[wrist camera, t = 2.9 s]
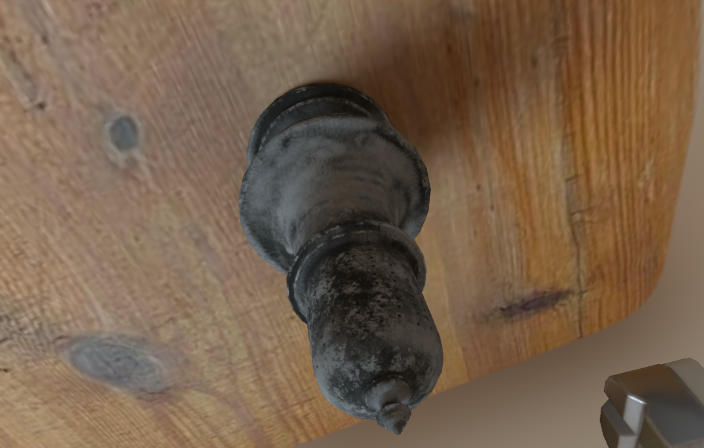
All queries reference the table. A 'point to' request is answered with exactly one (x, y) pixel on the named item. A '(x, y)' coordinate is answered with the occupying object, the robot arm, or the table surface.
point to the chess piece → (347, 245)
